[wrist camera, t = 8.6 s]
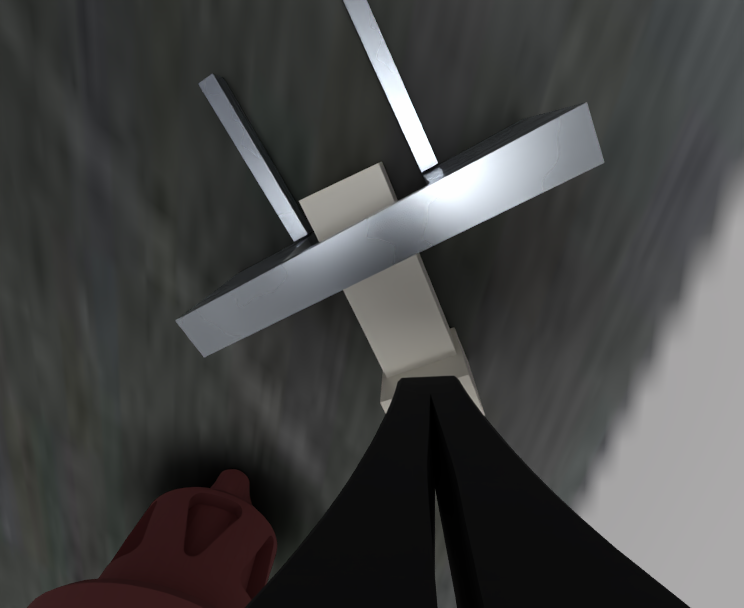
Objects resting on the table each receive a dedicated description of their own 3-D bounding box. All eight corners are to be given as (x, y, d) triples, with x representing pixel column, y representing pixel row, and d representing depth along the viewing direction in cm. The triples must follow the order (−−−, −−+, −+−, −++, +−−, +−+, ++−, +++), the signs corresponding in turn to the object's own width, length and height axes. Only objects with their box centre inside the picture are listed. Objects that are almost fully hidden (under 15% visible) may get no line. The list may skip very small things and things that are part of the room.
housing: (143, 134, 13) (24, 126, 9) (451, -85, 10) (486, -246, 6) (257, 301, 16) (203, 357, 11) (536, 158, 13) (604, 162, 8)
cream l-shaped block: (308, 195, 14) (279, 209, 11) (387, 158, 13) (382, 161, 10) (409, 403, 17) (411, 463, 14) (476, 382, 16) (495, 441, 13)
